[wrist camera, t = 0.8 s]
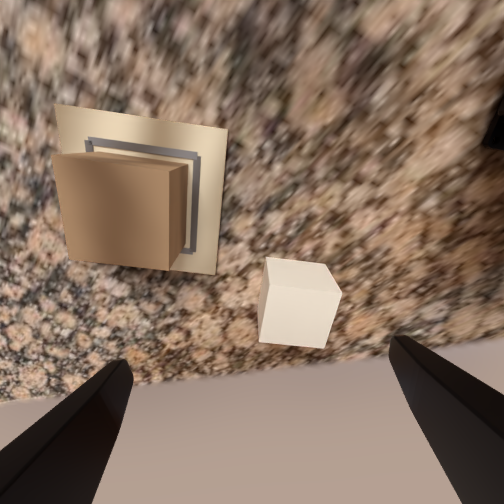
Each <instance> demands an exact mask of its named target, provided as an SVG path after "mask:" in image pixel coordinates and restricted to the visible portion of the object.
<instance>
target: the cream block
mask: <svg viewBox="0 0 504 504" xmlns="http://www.w3.org/2000/svg"><path fill="white" fill-rule="evenodd" d="M341 296H342V291H341V290H340V288H339V287H338V285H337V283H336V282H335V280H334V278H333V277H332V275H331V273H330V272H329V270H328V268H327V267H326V265H325V264H320V263H312V262H304V261H296V260H287V259H279V258H271V257H266V260H265V265H264V271H263V277H262V283H261V288H260V294H259V300H258V306H257V310H258V334H259V342H263V343H273V344H283V345H293V346H303V347H313V348H323V349H324V347H325V344H326V341H327V338H328V335H329V332H330V329H331V326H332V323H333V320H334V317H335V314H336V311H337V308H338V305H339V302H340V299H341Z"/></svg>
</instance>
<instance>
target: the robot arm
mask: <svg viewBox="0 0 504 504" xmlns="http://www.w3.org/2000/svg"><path fill="white" fill-rule="evenodd" d="M494 137H495V141H494V142H493V143H492V140H493V138H494ZM483 145H484V147H485V148H488V149H495V150H501V151H504V97H503V99H502V102H501V104H500V106H499V108H498V110H497V112H496V115H495V117H494V119H493V121H492V123H491V125H490V127H489V130H488V132H487V134H486V136H485V138H484V141H483ZM389 360H390V363H391V365H392V367H393V370H394V372H395V374H396V377H397V379H398V381H399V384H400V386H401V388H402V391H403V393H404V395H405V398H406V400H407V402H408V404H409V407H410V409H411V411H412V413H413V415H414V417H415V418H416V420H417V422H418V424H419V426H420V428H421V429H422V431H423V433H424V435H425V437H426V438H427V440H428V442H429V444H430V446H431V448H432V449H433V451H434V453H435V455H436V457H437V459H438V460H439V462H440V464H441V466H442V468H443V469H444V471H445V473H446V475H447V477H448V479H449V481H450V482H451V484H452V486H453V488H454V490H455V491H456V493H457V495H458V497H459V499H460V501H461V502H462V504H504V395H503V394H501V393H500V392H498V391H497V390H495V389H493V388H491V387H490V386H488V385H487V384H485V383H484V382H482V381H480V380H479V379H477V378H475V377H474V376H472V375H470V374H469V373H467V372H466V371H464V370H462V369H461V368H459V367H457V366H456V365H454V364H453V363H451V362H449V361H447V360H446V359H444V358H443V357H441V356H439V355H438V354H436V353H435V352H433V351H431V350H430V349H428V348H426V347H425V346H423V345H422V344H420V343H418V342H417V341H415V340H413V339H412V338H410V337H408V336H407V335H394V336H392V337H391V340H390V347H389ZM133 381H134V377H133V373H132V371H131V369H130V367H129V364H128V362H127V361H126V360H125V359H118V360H113V361H111V362H110V363H109V364H107V365H106V366H105V367H104V368H102V369H101V370H100V371H99V372H97V373H96V374H95V375H94V376H92V377H91V378H90V379H89V380H87V381H86V382H85V383H84V384H83V385H81V386H80V387H79V388H78V389H76V390H75V391H74V392H73V393H71V394H70V395H69V396H68V397H66V398H65V399H64V400H63V401H61V402H60V403H59V404H58V405H56V406H55V407H54V408H53V409H52V410H50V411H49V412H48V413H47V414H45V415H44V416H43V417H42V418H40V419H39V420H38V421H37V422H35V423H34V424H33V425H32V426H31V427H29V428H28V429H27V430H25V431H24V432H23V433H22V434H21V435H19V436H18V437H17V438H15V439H14V440H13V441H12V442H11V443H9V444H8V445H7V446H6V447H4V448H3V449H2V450H1V451H0V504H92V501H93V499H94V496H95V493H96V491H97V488H98V486H99V483H100V481H101V478H102V475H103V473H104V470H105V467H106V465H107V462H108V460H109V457H110V454H111V452H112V449H113V447H114V444H115V441H116V439H117V436H118V433H119V430H120V427H121V424H122V421H123V417H124V413H125V410H126V406H127V403H128V399H129V396H130V392H131V389H132V385H133Z"/></svg>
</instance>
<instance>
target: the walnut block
mask: <svg viewBox="0 0 504 504" xmlns="http://www.w3.org/2000/svg"><path fill="white" fill-rule="evenodd" d="M51 157H52V163H53V169H54V175H55V180H56V186H57V192H58V198H59V204H60V209H61V215H62V221H63V227H64V232H65V238H66V244H67V250H68V256H69V259H70V260H79V261H87V262H96V263H105V264H113V265H122V266H131V267H140V268H148V269H157V270H166V271H169V270H170V268H171V267H172V265H173V263H174V262H175V260H176V258H177V257H178V255H179V254H180V252H181V250H182V249H183V247H184V246H185V244H186V218H187V187H188V164H185V163H178V162H171V161H164V160H157V159H150V158H143V157H136V156H128V155H121V154H114V153H107V152H100V151H97V152H83V153H70V154H57V155H51Z"/></svg>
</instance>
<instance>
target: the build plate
mask: <svg viewBox="0 0 504 504" xmlns="http://www.w3.org/2000/svg"><path fill="white" fill-rule="evenodd" d="M54 107H55V113H56V119H57V126H58V132H59V138H60V145H61V151H62V154H70V153H83V152H97V151H100V152H107V153H114V154H121V155H128V156H136V157H143V158H150V159H157V160H164V161H171V162H178V163H185V164H188V187H187V218H186V244H185V246H184V247H183V249H182V250H181V252H180V254H179V255H178V257H177V258H176V260H175V262H174V263H173V265H172V267H171V268H170V270H175V271H184V272H193V273H201V274H210V275H215V273H216V263H217V252H218V240H219V229H220V218H221V206H222V195H223V184H224V172H225V161H226V150H227V138H228V129H221V128H214V127H208V126H201V125H194V124H188V123H181V122H174V121H168V120H161V119H155V118H148V117H141V116H135V115H128V114H121V113H115V112H108V111H101V110H95V109H88V108H81V107H75V106H68V105H61V104H55V103H54Z"/></svg>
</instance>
